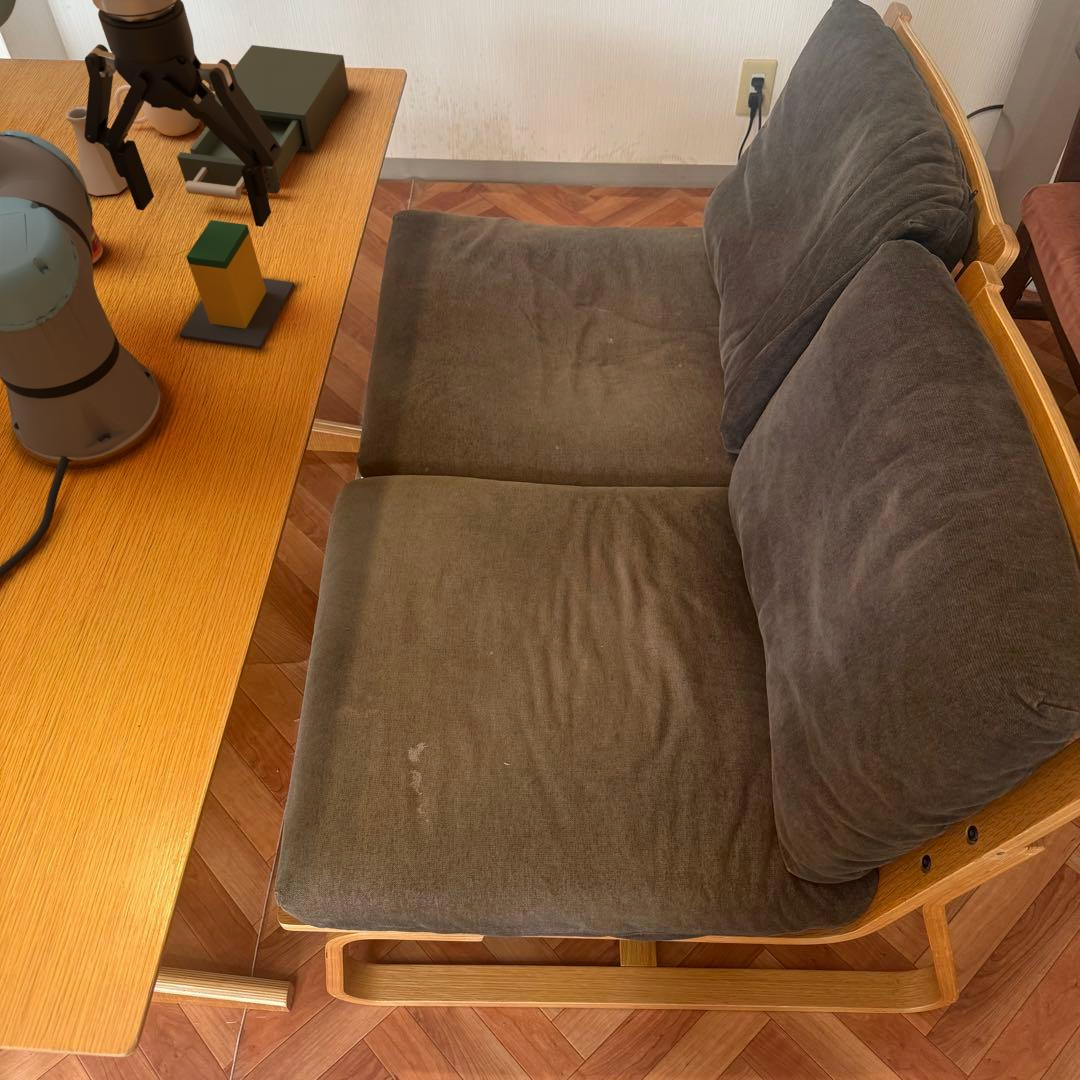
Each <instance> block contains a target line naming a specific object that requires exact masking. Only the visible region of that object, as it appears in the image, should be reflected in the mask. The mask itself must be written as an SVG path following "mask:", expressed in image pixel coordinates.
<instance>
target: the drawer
mask: <svg viewBox="0 0 1080 1080" xmlns="http://www.w3.org/2000/svg"><path fill="white" fill-rule="evenodd" d="M259 116H260V117H261V119H262V120H263V122H264V123H265V125H266V126H267V128H268V129H269V130H270V132H271V133H272V135H273V136H274V138H275V139H276V141H277V142H278V144H279V145H280V147H281V149H282V152H281V154H280V155H279V157H278V159H277V160H276V162H275V163H274V165H273V166H272V167H268V166H267V167H268V172H269V177H270V180H271V184H272V186H271V190H270V191H269V193H268V194H276V195H277V194H279V193H280V190H281V185H280V179H281V178H282V177H283V175H284V173H285V172H286V170H287V168H288V167H289V165H290V163H291V162H292V160H293V158H294V157H295V156H296V154H297V153H298V151H299V150H298V149H299V147H300V146H301V144H302V143H303V141H304V134H303V129H302V124H301V120H299V119H291V118H282V117H274V116H265V115H259ZM189 151H190V152H181V151H180V152H179V153H178V154H177V156H176V158H177V159H176V160H177V162H178V164H179V169H180V171H181V175H182V177H183V180H184V182H185V190H186V193H187V194H189V195H197V196H206V197H214V198H222V199H229V200H236V201H238V200H240V199H242V190H244V191H246V187H245V183H244V180H243V176H242V172H241V170H242V168H243V167H244V166H245V164H244V163H243V162H242V161H241V160H240V159H239V158H238V157H237V156H236V155H235V154H234V153H233V152H232V151H231V150H230V149H229V148H228V147H227V146H226V145H225V144H224V143H223V142H222V141H221V140H220V139H219V138H218V137H217V136H216V135H215V134H214V133H213V132H212V131H211V130H210V129H209V128H208V127H207V126H205V128H204V129H203V130H202V132H201V133H200V134H199V135H198V137H197V138H196V140H195V141H194V143H193V144H192V145H191V146H190V148H189ZM251 154H252V153H251Z"/></svg>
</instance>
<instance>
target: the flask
mask: <svg viewBox="0 0 1080 1080" xmlns="http://www.w3.org/2000/svg"><path fill="white" fill-rule="evenodd" d="M86 112H87V106H77V107H72V108H71V109H69V110H68V111H66V114H65V115H66V116H65V117H66V121H68V122H70V124H71V126H72V129H73V131H74V135H75V139H76V144H77V151H78V152H77V155H78V170H79V172H80V173H81V175H82V177H83V179H84V181H85V184H86V187H87V191H88V195H89V194H90V195H93V196H96V197H98V196H108V195H116V194H119V193H121V192H123V191H124V190H125V189H126V188H128V184H127V182H126V179H125V178H124V177H120V176H119V174H118V173H117V171H116V168H115V166H114V163H113V160H112V158H111V155H110V153H109V151H108V150H107V149H106V148H105V147H104V145H102V144H99V143H97V142H96V143H94V144H92V143H89V142H88V141H87V140H86V139H85V136H84V134H85V123H86Z"/></svg>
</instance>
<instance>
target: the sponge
mask: <svg viewBox="0 0 1080 1080" xmlns="http://www.w3.org/2000/svg"><path fill="white" fill-rule="evenodd" d="M186 261H187V263H188V266H189V269H190V272H191V274H192V277H193V280H194V282H195V285H196V289H197V291H198V293H199V297H200V300H201V299H202V302H203V305H204V308H205V310H206V313H207V316H208V319H209V322H210V324H216V325H223V326H230V327H237V328H244V329H246V327H247V325H248V324H249V322H250V320H251V318H252V317H253V315H254V313H255V311H256V310H257V308H258V306H259V304H260V302H261V301H262V299H263V297H264V295H265V294H266V288H265V285H264V281H263V278H264V277H263V275H262V271H261V267H260V264H259V260H258V256H257V254H256V250H255V247H254V243H253V239H252V235H251V233H250V229H249V225H248V224H245V223H238V222H237V223H236V222H228V221H221V220H216V219H215V220H214V219H211V220H209V222H208V223H207V225H206V226H205V227H204V229H203V231H202V232H201V234H200V235H199V237H198V238H197V239H196V240H195V242H194V244H193V245H192V247H191V249H190V250H189V252H188V253H187V255H186Z"/></svg>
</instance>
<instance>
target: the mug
mask: <svg viewBox="0 0 1080 1080" xmlns="http://www.w3.org/2000/svg"><path fill="white" fill-rule="evenodd" d="M130 87H131V86H130V85H129V84H124V85H122V86H119V87H118V88H117V89H116V90H115V93H114V103H115V107H116V109H117V111H118V112H119V111H120V109H121V107H122V104H121V95H122V93H123V92H125V91H127V92H128V91H129V89H130ZM200 100H201V99H200V97H199V96H198V95H197V94H196V96H195V98H194V101H195V102H196V103H197V104H198V103H199V102H200ZM140 110H141V111H142V112H143V114H144V116H143V117H140V118H136V119H135V120H134V122H133V124H134V125H141V124H144V123H146V122H148V123H149V124H150V125H151V126H152V127H153V129H155V130H156V131H157V132H159V133H161V134H162V135H164V136H169V137H180V136H185V135H188V134H190V133H192V132H193V131H195V130H196V129H197V128H198V126H199V124H200V122H201V120H199V119H195V118H193V117H192V116H191V115H190V114H189V113H188V112H187V111H186V110H185V109H184V108H183V110H182V111H177V110H173V109H170V108H167V107H163V108H154V107H151V104H149V103H147V102H146V101H145V102H144V103H143V105H142V107H141V109H140Z"/></svg>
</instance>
